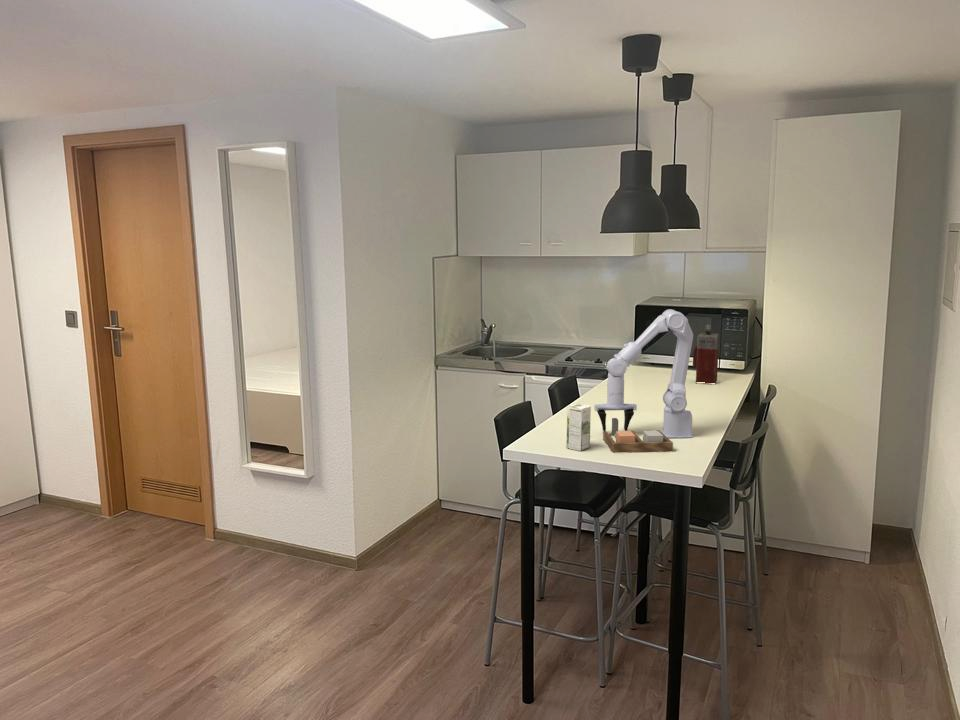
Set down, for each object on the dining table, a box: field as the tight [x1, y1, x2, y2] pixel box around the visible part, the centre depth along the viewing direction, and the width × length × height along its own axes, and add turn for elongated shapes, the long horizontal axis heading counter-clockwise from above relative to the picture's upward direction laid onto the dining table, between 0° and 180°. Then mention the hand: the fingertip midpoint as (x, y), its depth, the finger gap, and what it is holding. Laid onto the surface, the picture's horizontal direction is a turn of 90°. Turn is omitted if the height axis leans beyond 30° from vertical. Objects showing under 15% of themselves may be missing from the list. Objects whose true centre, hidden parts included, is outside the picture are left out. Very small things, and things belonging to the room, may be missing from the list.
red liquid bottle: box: [692, 324, 720, 384], centre depth 351 cm, size 9×11×28 cm
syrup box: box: [566, 403, 592, 452], centre depth 241 cm, size 6×6×14 cm
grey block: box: [642, 430, 663, 442], centre depth 242 cm, size 5×6×5 cm
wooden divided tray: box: [602, 429, 674, 453], centre depth 245 cm, size 20×16×3 cm
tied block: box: [611, 417, 635, 443], centre depth 249 cm, size 5×20×6 cm, turn 2°
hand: (615, 430), depth 257 cm, fingers open, 7 cm apart
